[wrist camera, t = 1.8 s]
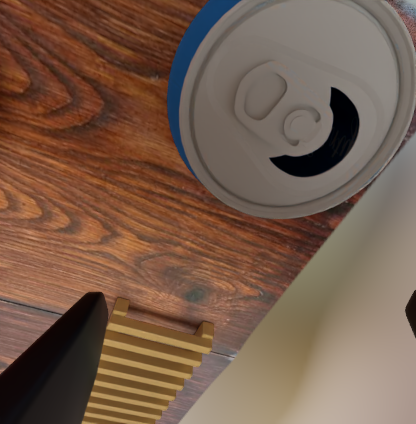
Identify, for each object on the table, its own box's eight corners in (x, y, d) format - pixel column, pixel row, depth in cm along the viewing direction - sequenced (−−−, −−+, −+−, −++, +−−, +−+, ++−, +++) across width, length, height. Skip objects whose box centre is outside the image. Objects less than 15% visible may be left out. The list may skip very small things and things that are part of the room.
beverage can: (249, 141, 20) (296, 263, 9) (166, 80, 18) (113, 153, 7) (321, 51, 17) (498, 89, 7) (233, -34, 15) (293, -165, 5)
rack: (117, 297, 28) (110, 319, 26) (213, 323, 30) (214, 346, 28) (73, 409, 39) (65, 430, 37) (144, 422, 42) (141, 443, 39)
